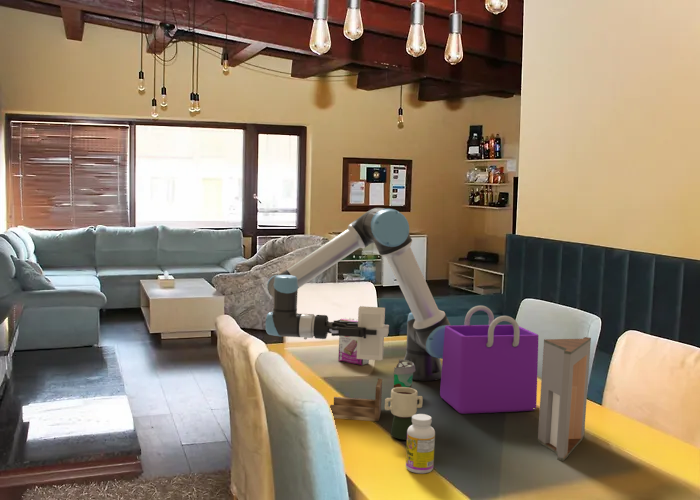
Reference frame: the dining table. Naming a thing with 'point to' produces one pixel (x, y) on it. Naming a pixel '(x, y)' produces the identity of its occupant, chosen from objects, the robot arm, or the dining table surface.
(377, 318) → the white rectangular box
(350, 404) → the wooden holder
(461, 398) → the shopping bag
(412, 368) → the food container
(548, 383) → the grey tall angular block
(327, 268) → the robot arm
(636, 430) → the dining table surface
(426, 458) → the supplement bottle
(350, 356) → the candy bar box
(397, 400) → the character mug
